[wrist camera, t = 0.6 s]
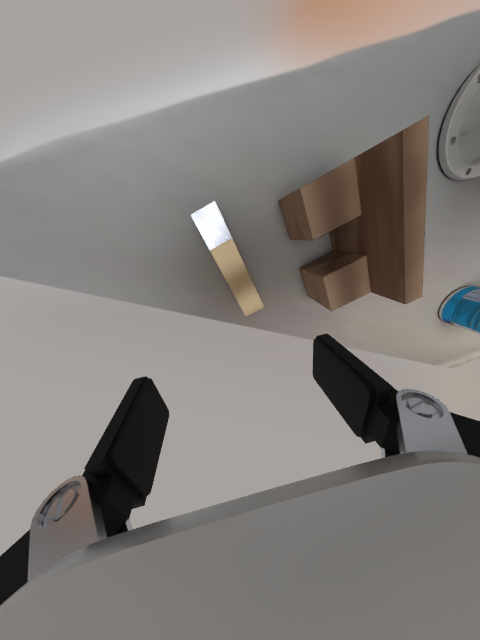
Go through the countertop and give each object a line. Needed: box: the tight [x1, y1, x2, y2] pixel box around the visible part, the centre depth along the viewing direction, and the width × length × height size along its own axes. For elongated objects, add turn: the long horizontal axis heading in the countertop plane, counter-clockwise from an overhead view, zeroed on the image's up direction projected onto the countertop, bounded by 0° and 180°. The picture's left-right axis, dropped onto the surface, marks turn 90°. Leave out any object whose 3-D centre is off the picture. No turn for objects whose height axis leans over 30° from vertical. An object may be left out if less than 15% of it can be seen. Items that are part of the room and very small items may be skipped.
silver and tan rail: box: [191, 201, 264, 316], centre depth 24 cm, size 14×3×6 cm, turn 27°
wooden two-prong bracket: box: [278, 116, 429, 311], centre depth 22 cm, size 8×16×12 cm, turn 27°
